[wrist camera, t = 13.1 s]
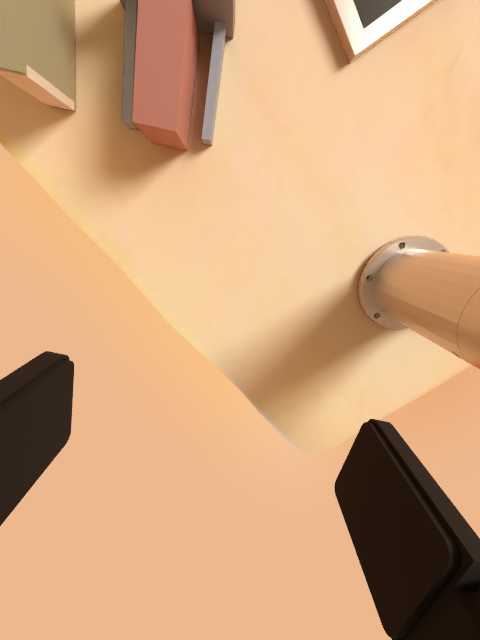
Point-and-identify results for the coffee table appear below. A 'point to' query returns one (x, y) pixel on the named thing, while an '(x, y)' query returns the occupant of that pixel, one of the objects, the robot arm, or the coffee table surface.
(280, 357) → the coffee table surface
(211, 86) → the shelf slot
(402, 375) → the coffee table surface
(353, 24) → the picture frame
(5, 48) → the olive rectangular block
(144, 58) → the reddish pink rectangular block
